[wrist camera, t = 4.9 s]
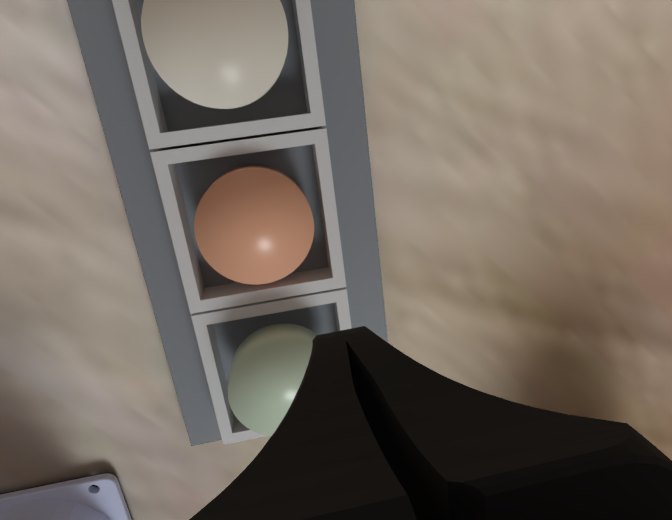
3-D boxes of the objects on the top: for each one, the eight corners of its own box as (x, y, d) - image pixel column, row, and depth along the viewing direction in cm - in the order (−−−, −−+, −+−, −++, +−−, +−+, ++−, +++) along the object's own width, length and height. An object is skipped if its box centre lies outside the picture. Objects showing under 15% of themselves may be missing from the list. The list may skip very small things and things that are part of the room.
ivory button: (171, 116, 16) (161, 117, 15) (138, -26, 15) (123, -42, 13) (294, 100, 16) (297, 99, 15) (274, -40, 15) (275, -57, 14)
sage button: (241, 421, 20) (239, 446, 19) (221, 333, 19) (217, 352, 17) (338, 402, 21) (344, 425, 19) (326, 315, 19) (331, 332, 18)
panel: (193, 434, 23) (186, 467, 21) (58, -59, 16) (27, -85, 14) (389, 395, 24) (402, 423, 22) (341, -85, 17) (351, -113, 15)
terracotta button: (212, 279, 19) (208, 293, 18) (188, 173, 18) (181, 178, 16) (317, 261, 19) (321, 274, 18) (302, 157, 18) (305, 161, 17)
